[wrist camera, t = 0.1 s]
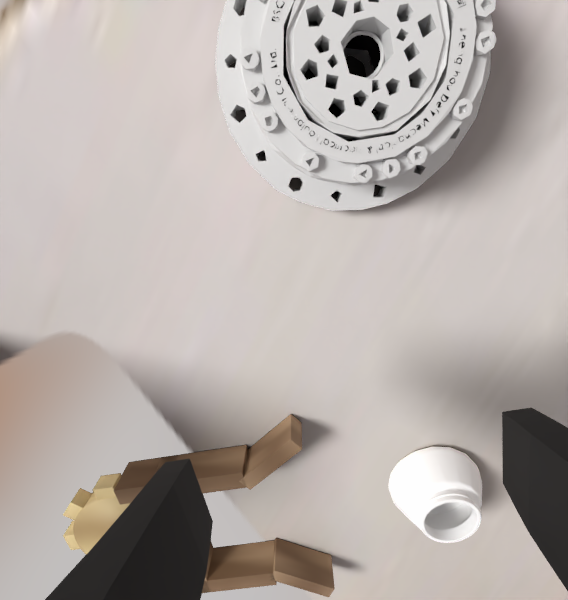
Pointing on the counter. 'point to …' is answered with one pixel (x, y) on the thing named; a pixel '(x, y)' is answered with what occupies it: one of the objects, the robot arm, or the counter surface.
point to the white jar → (439, 492)
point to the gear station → (214, 477)
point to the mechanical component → (352, 92)
